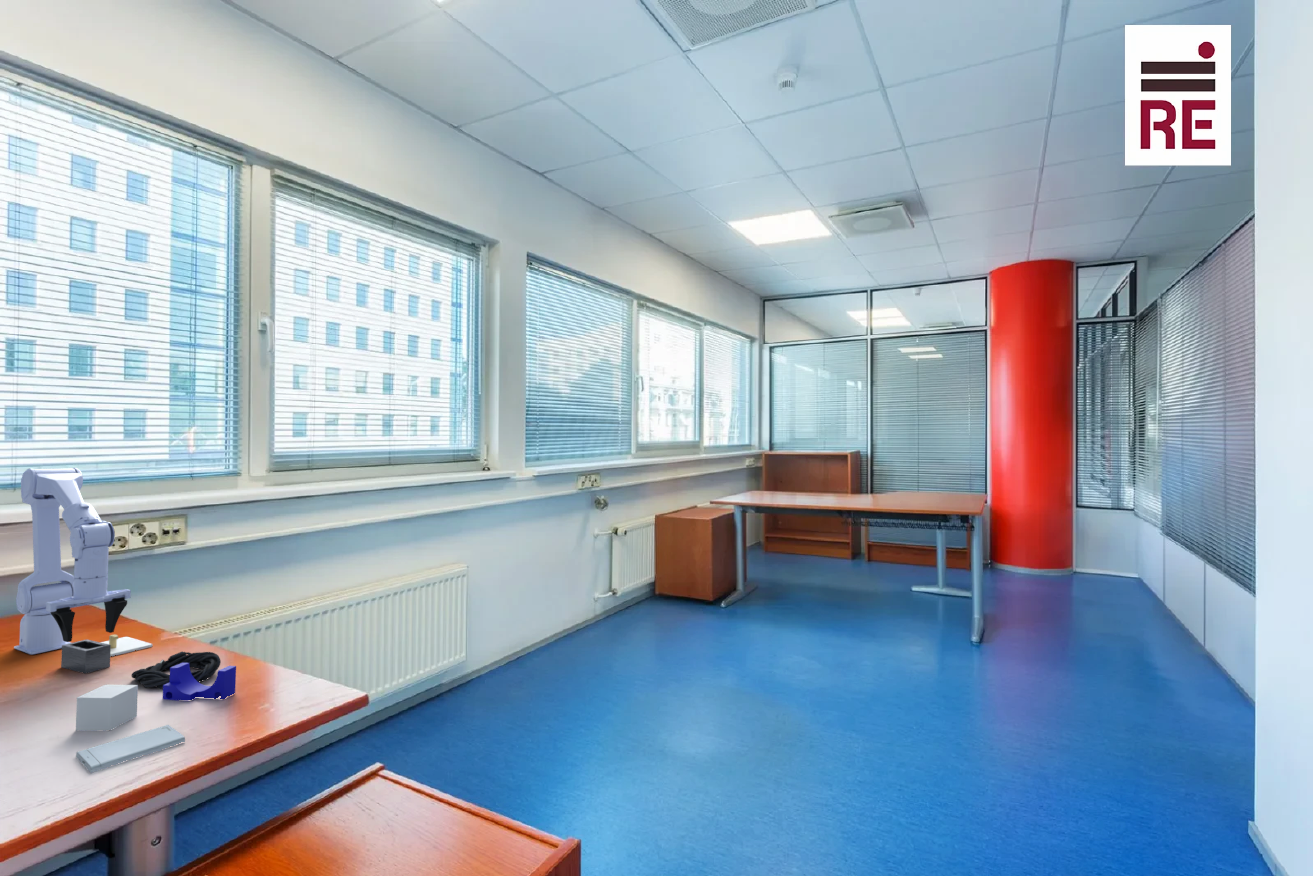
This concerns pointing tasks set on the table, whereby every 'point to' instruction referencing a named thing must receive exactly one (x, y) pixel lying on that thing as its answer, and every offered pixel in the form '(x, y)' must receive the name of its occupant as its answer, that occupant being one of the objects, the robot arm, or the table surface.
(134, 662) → the table surface
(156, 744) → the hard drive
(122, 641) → the keeper plate
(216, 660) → the cable
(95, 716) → the light grey cube
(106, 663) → the grey open storage bin
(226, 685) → the cable clip
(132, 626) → the table surface
